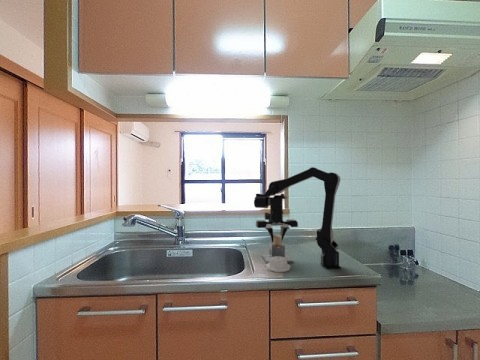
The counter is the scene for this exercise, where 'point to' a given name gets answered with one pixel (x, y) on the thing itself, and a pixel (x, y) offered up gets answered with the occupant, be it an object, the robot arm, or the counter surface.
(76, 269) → the counter surface
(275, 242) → the birch post
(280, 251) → the metal stand
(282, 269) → the mechanical component
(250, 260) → the counter surface
